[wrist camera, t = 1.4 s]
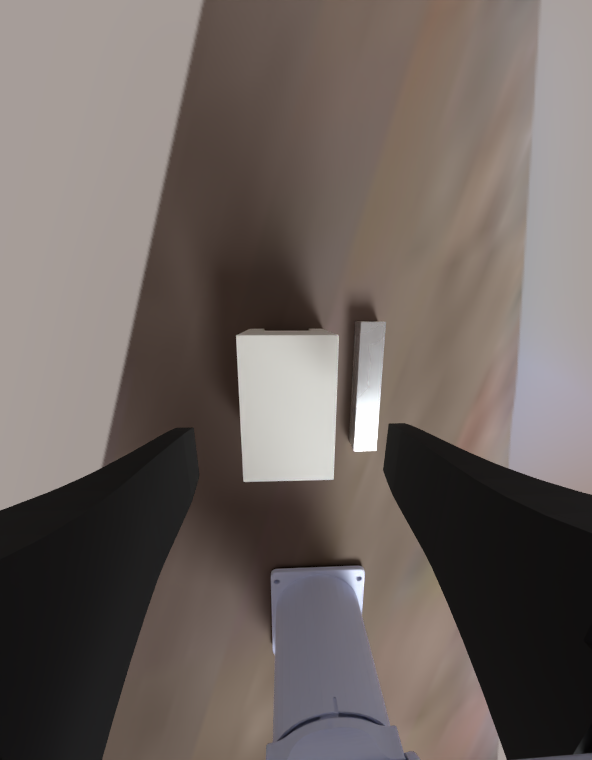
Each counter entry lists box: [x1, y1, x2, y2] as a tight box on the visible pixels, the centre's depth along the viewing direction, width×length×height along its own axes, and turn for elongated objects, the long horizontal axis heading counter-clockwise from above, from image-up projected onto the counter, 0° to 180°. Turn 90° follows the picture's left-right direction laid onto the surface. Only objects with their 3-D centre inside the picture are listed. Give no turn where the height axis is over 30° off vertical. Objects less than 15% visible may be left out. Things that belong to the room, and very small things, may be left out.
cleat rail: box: [349, 321, 386, 451], centre depth 19 cm, size 9×2×2 cm, turn 0°
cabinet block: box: [236, 329, 339, 482], centre depth 17 cm, size 8×5×6 cm, turn 0°
